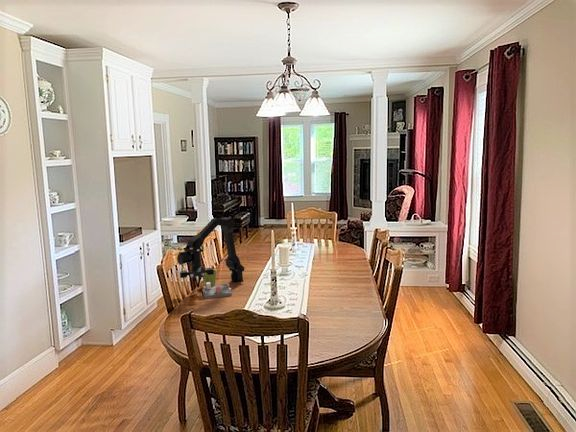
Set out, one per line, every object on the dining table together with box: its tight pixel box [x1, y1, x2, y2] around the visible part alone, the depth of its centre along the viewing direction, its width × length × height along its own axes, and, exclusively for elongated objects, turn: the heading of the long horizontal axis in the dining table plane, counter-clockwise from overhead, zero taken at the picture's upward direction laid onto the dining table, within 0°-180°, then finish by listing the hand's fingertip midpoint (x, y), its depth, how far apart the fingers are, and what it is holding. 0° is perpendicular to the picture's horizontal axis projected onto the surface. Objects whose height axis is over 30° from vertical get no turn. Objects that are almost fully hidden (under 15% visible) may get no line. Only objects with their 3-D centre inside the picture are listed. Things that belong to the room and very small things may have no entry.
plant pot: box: [202, 269, 218, 286], centre depth 271 cm, size 9×9×9 cm
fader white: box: [206, 282, 211, 289], centre depth 260 cm, size 2×4×3 cm, turn 14°
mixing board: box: [201, 283, 233, 300], centre depth 257 cm, size 15×18×3 cm
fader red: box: [215, 284, 221, 293], centre depth 253 cm, size 2×4×3 cm, turn 14°
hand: (198, 287), depth 259 cm, fingers closed
